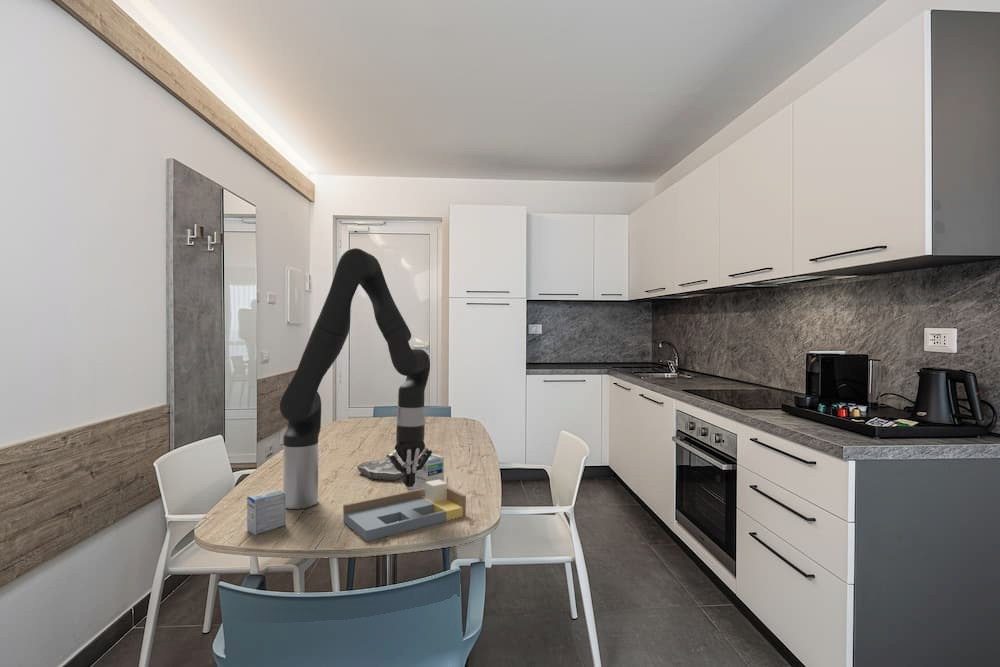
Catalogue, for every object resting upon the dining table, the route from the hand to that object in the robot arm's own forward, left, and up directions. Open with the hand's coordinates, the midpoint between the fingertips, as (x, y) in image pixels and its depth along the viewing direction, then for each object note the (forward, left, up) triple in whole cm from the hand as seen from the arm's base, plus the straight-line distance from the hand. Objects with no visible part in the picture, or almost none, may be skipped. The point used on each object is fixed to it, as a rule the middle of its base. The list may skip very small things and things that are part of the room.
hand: (409, 486), depth 139 cm
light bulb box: (-16, +14, -8) cm, 22 cm away
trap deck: (+3, -2, -7) cm, 8 cm away
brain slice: (-39, +12, -8) cm, 41 cm away
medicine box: (-12, -33, -8) cm, 36 cm away
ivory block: (0, +8, -5) cm, 10 cm away
